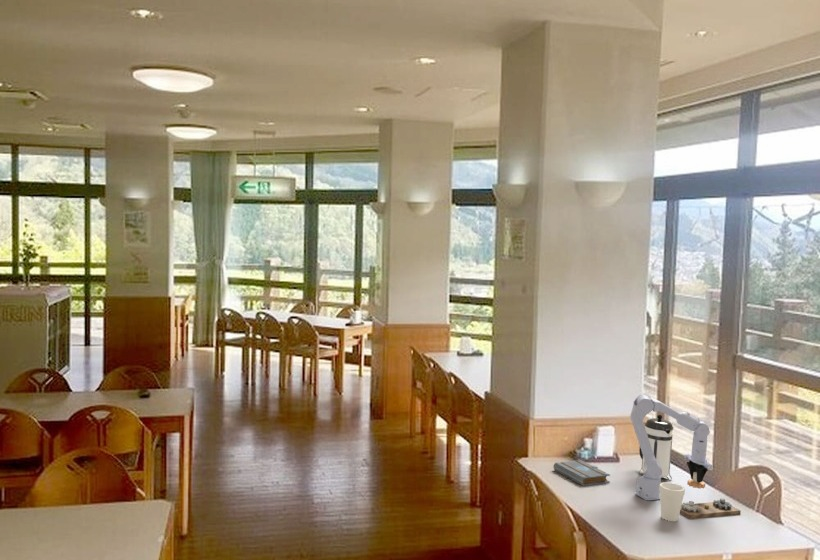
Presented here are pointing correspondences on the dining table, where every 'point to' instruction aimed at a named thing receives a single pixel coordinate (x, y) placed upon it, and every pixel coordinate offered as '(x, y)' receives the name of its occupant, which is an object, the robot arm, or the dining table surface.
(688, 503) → the gear
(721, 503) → the gear
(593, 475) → the book
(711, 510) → the gear board
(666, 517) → the foam cup
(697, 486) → the loose gear
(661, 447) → the coffee press
